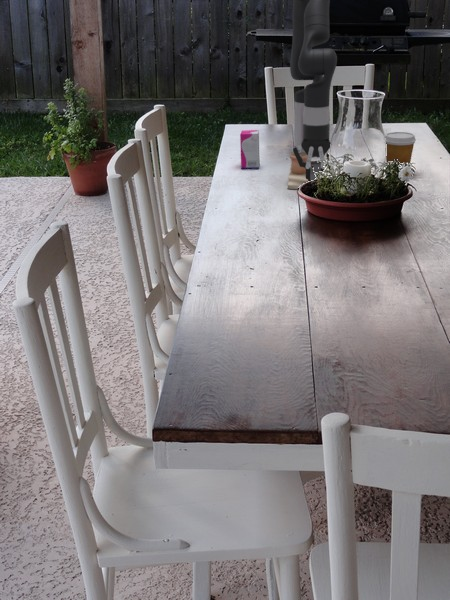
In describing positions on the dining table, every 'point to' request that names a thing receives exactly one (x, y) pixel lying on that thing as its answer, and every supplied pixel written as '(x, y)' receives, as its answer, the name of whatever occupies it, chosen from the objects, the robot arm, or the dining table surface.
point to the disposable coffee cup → (399, 146)
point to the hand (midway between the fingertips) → (315, 180)
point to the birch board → (302, 176)
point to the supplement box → (249, 149)
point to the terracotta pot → (295, 165)
